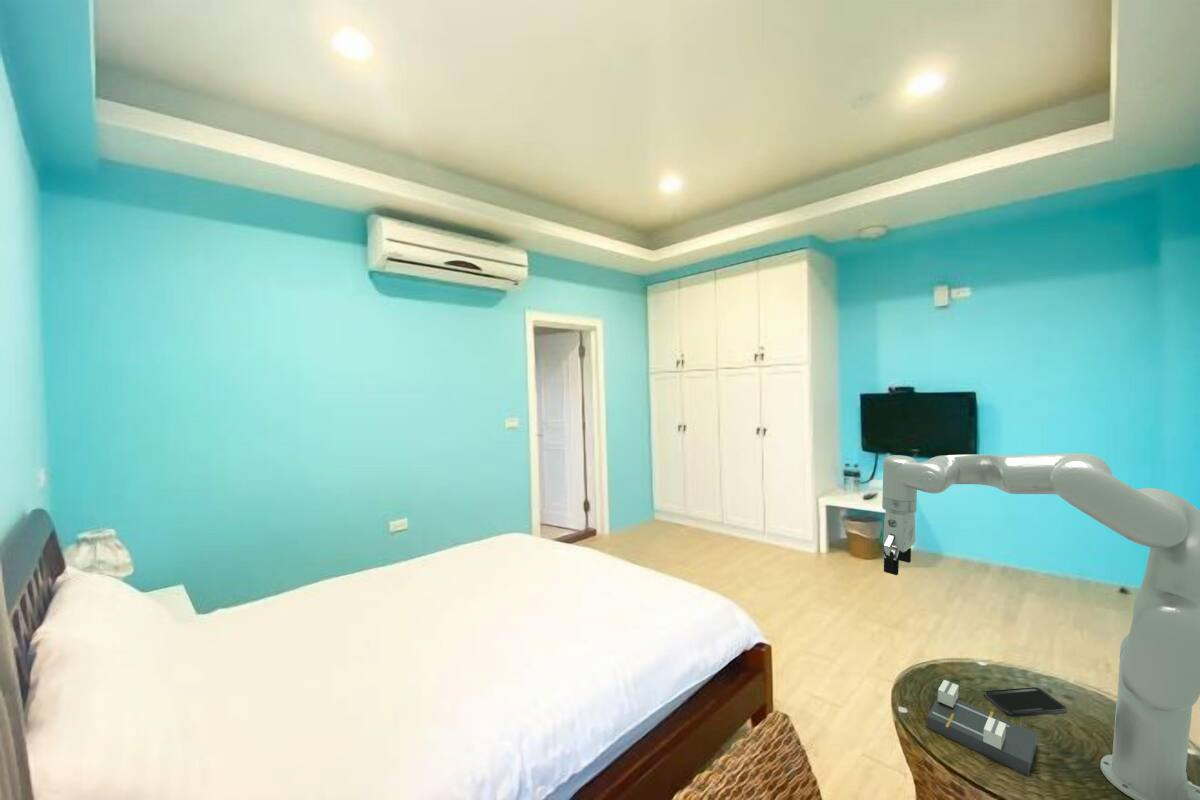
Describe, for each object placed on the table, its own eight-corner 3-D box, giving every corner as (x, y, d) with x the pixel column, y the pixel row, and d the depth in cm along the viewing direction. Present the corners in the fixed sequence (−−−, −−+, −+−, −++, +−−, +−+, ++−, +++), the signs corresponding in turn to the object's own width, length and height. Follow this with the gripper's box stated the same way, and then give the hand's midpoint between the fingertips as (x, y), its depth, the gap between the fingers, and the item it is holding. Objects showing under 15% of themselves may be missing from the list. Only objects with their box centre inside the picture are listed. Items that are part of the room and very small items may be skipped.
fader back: (958, 697, 118) (958, 685, 118) (952, 707, 115) (953, 695, 114) (943, 690, 120) (944, 679, 120) (937, 701, 117) (938, 689, 116)
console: (1037, 743, 108) (1038, 730, 107) (1027, 778, 99) (1028, 764, 99) (941, 701, 121) (941, 690, 121) (925, 729, 113) (926, 717, 112)
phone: (981, 691, 123) (1038, 686, 124) (981, 695, 123) (1038, 690, 124) (1009, 714, 115) (1069, 709, 116) (1008, 718, 115) (1069, 714, 116)
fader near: (1005, 736, 106) (1006, 723, 105) (1000, 749, 103) (1001, 736, 102) (988, 728, 108) (988, 716, 108) (983, 741, 105) (983, 728, 104)
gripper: (904, 515, 117) (902, 583, 118) (926, 498, 128) (923, 560, 130) (870, 509, 122) (869, 573, 124) (894, 493, 134) (892, 552, 135)
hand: (897, 567), depth 127 cm, fingers open, 9 cm apart
